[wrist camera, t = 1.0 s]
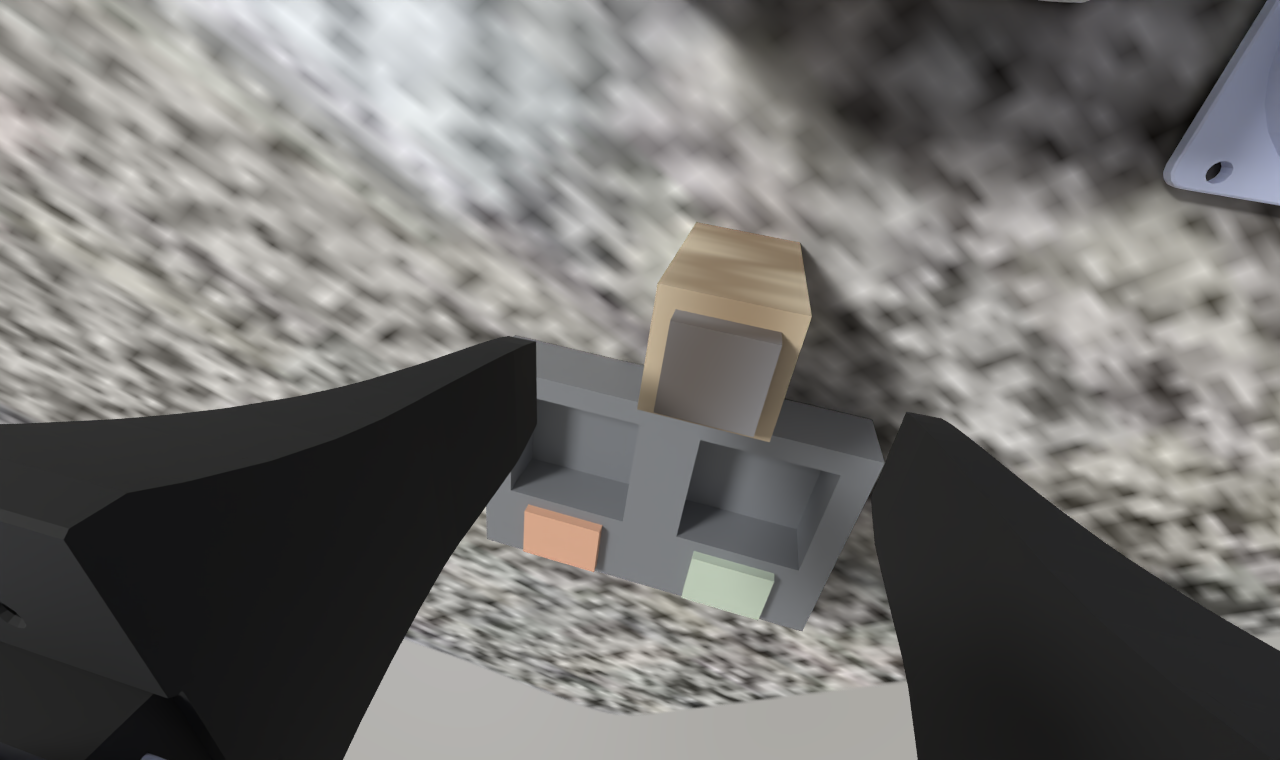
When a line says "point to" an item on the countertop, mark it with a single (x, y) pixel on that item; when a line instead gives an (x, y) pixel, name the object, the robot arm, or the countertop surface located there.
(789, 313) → the plug
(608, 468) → the port board
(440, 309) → the countertop surface
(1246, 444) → the countertop surface
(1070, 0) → the light bulb box
